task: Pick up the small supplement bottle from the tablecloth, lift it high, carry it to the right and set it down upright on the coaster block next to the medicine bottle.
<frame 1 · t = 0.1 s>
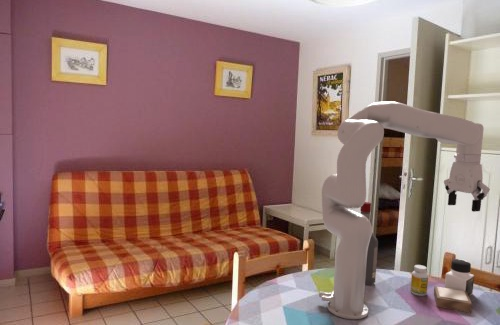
hand: (463, 208, 135), 31 cm above the table, tool pointing down, fingers open, 9 cm apart
supplement bottle: (418, 293, 138), on the table
liquor: (360, 281, 147), on the table
coaster block: (451, 303, 131), on the table
medicine bottle: (458, 293, 139), on the table
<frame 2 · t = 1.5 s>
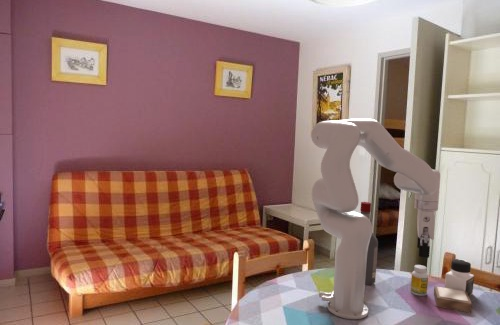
hand: (422, 252, 137), 15 cm above the table, tool pointing down, fingers open, 9 cm apart
nothing on the table moved.
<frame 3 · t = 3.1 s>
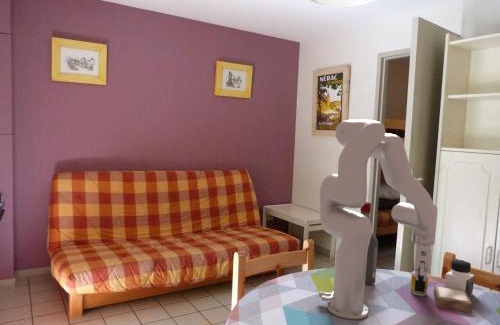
hand: (418, 287, 138), 2 cm above the table, tool pointing down, fingers closed on supplement bottle, 5 cm apart
supplement bottle: (418, 293, 138), on the table, touching gripper
everything else where it was.
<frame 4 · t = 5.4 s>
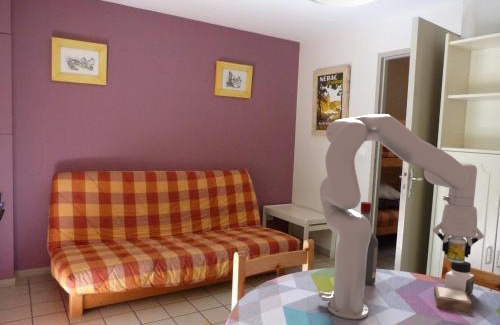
hand: (455, 254, 129), 17 cm above the table, tool pointing down, fingers closed on supplement bottle, 5 cm apart
supplement bottle: (455, 260, 129), point 15 cm above the table, touching gripper
everything else where it was.
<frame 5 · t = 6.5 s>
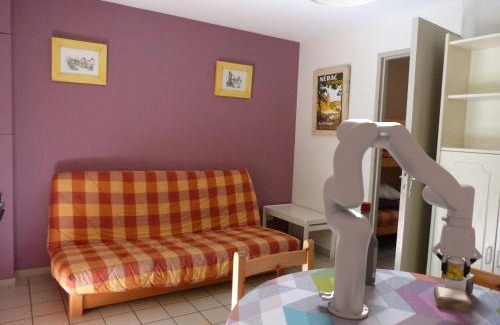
hand: (454, 274, 130), 10 cm above the table, tool pointing down, fingers closed on supplement bottle, 5 cm apart
supplement bottle: (453, 280, 130), point 8 cm above the table, touching gripper
everything else where it was.
when the fingers open (6 cm above the table, at t = 7.6 s): supplement bottle stays where it is, resting on coaster block.
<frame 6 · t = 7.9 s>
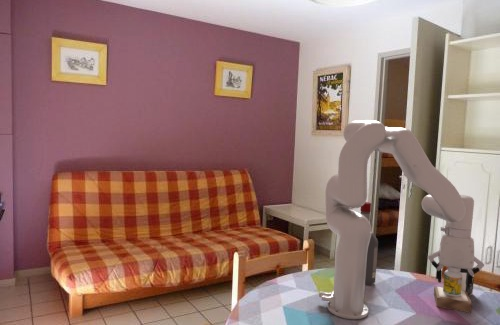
hand: (453, 283, 130), 7 cm above the table, tool pointing down, fingers open, 8 cm apart
supplement bottle: (451, 294, 130), point 3 cm above the table, touching coaster block
everything else where it was.
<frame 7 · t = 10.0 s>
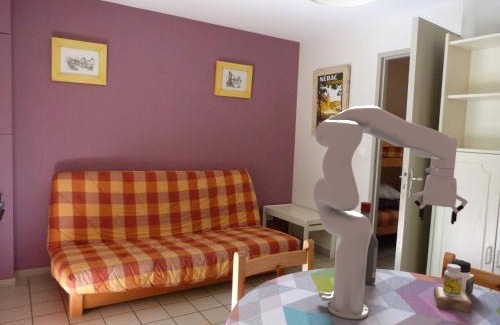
hand: (436, 221, 135), 26 cm above the table, tool pointing down, fingers open, 9 cm apart
nothing on the table moved.
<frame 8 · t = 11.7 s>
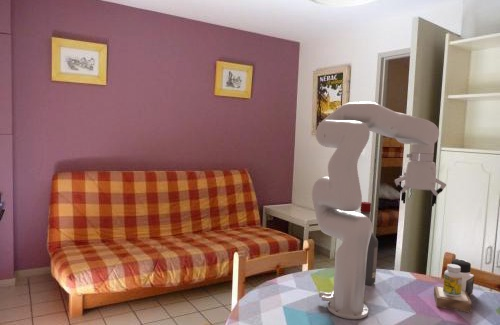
hand: (418, 204, 143), 30 cm above the table, tool pointing down, fingers open, 9 cm apart
nothing on the table moved.
at the end: supplement bottle inside the target area on the coaster block (0.2 cm from its centre), point 3.1 cm above the coaster block's base; supplement bottle tilted 0°; the gripper is holding nothing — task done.
